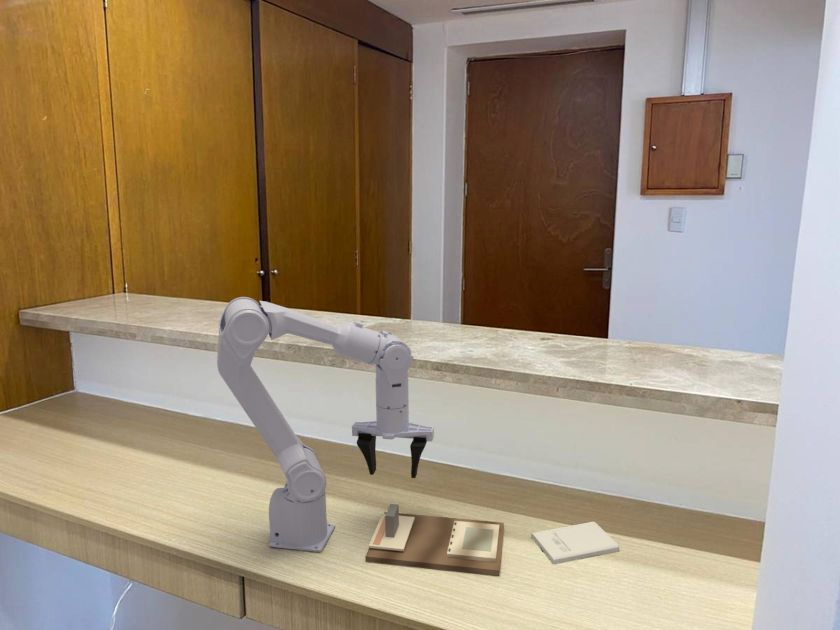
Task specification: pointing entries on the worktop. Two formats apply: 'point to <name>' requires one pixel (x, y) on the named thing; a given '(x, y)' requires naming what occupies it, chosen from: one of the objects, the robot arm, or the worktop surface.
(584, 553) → the external hard drive
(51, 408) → the worktop surface
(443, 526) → the ticket board
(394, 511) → the stub
